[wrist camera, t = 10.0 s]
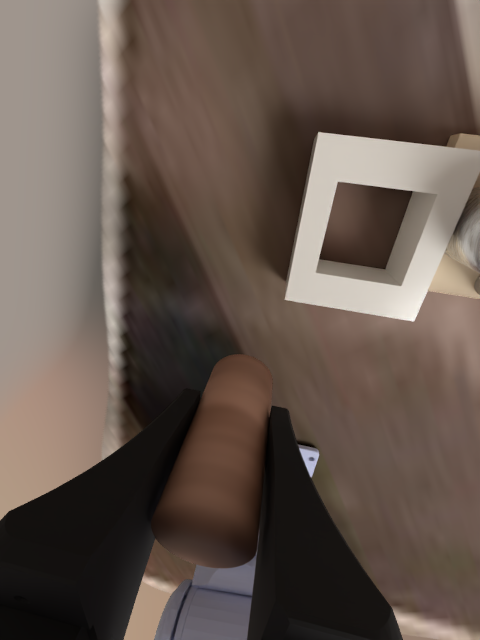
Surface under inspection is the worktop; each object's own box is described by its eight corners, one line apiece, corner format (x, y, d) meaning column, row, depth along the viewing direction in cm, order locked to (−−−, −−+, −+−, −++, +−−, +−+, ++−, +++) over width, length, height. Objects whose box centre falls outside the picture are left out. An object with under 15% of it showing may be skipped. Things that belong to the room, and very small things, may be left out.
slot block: (396, 300, 19) (414, 321, 16) (285, 282, 19) (284, 299, 16) (453, 155, 15) (488, 151, 12) (314, 139, 15) (318, 132, 13)
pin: (267, 409, 15) (250, 577, 9) (209, 398, 15) (152, 553, 9) (277, 360, 13) (265, 518, 7) (213, 349, 14) (149, 492, 8)
